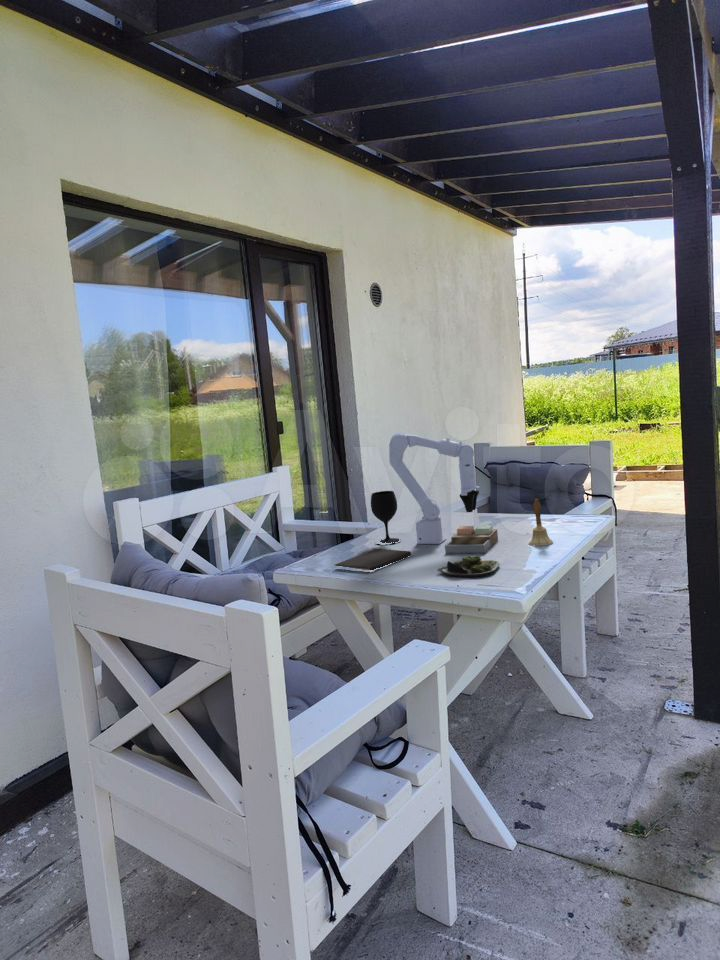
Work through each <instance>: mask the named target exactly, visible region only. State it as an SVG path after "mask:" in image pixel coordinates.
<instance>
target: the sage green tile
mask: <svg viewBox="0 0 720 960" xmlns="http://www.w3.org/2000/svg"><path fill="white" fill-rule="evenodd" d="M493 529H494V528H493V525H478V526H477V527H475V530H476V534H490V533H491V532H492V531H493Z"/></svg>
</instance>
